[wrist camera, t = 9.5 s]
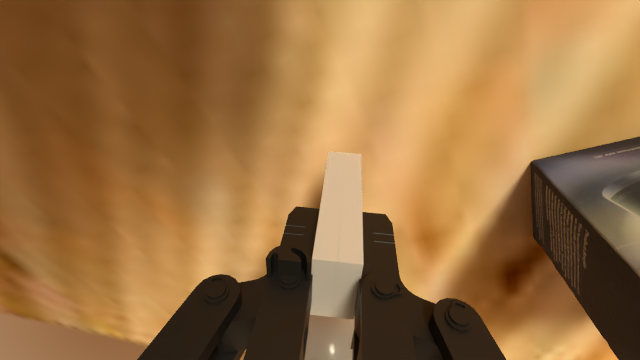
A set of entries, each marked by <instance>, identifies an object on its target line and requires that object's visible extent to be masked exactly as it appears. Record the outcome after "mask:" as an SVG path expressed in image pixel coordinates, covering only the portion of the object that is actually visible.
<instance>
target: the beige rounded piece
mask: <svg viewBox="0 0 640 360" xmlns="http://www.w3.org/2000/svg"><path fill="white" fill-rule="evenodd" d="M354 319H355V316H354ZM353 332H354V320H353V319H344V318H335V317H326V316H318V315H310V317H309V330H308V339H307V346H306V354H305V360H352V351H353V349H350V348H351V343H352V337H353Z"/></svg>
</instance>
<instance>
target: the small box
mask: <svg viewBox="0 0 640 360" xmlns="http://www.w3.org/2000/svg"><path fill="white" fill-rule="evenodd" d="M531 188H532V189H531V191H532V213H533V236H534V239H535V240H536V241H537V243H538V244H539V245H540V246H541V247H542V248H543V249H544V251H545V252H546V254H547V255H548V257H549V259H551V260H552V262H553V264H554V266H555V268H556V269H557V270H558V272H559V273H560V275H561V276H562V277H563V278H564V280H565V281H566V283H567V285H568V286H569V288H570V289H571V290H572V292H573V294H574V295H575V297H576V298H577V300H578V301H579V303H580V304H581V305H582V307H583V308H584V310H585V311H586V313H587V314H588V316H589V317H590V319H591V320H592V322H593V323H594V325H595V326H596V328H597V329H598V330H599V332H600V333H601V335H602V336H603V338H604V339H605V340H606V341H607V342H608V344H609V346H610V348H611V349H612V351H613V352H614V354H615V355H616V356H617V358H618V359H619V360H640V137H636V138H632V139H627V140H623V141H619V142H614V143H610V144H605V145H601V146H596V147H592V148H587V149H583V150H578V151H574V152H569V153H565V154H561V155H556V156H551V157H547V158H543V159H538V160H533V161H532V162H531Z"/></svg>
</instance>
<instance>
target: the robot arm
mask: <svg viewBox="0 0 640 360" xmlns="http://www.w3.org/2000/svg"><path fill="white" fill-rule="evenodd" d="M393 234H394V233H393V226H392V223H391V221H390V220H389V218H388V217H387V216H386V214H376V213H366V212H362V170H361V154H355V153H344V152H332V151H329V152H328V159H327V165H326V172H325V178H324V185H323V191H322V198H321V204H320V209H316V208H305V207H295V208H294V210H293V211H292V212H291V213H290V214H289V215H288V219H287V223H286V226H285V230H284V234H283V237H282V241H281V244H280V246H278V247H276V248H274V249H273V250H272V251H270V252H269V254H268V256H267V257H266V266H267V274H266V275H265V276H263V277H261V278H259V279H256V280H252V281H247V282H241V283H238V282H237V280H236V279H235V278H233V277H231V276H229V275H223V274H220V275H214V276H211V277H209V278H207V279H204V280H203V281H202V282H201V283H200V284H199V285H198V286H197V287H196V288H195V289H194V290H193V292H192V293H191V294H190V295H189V296H188V298H187V299H186V300H185V301H184V303H183V304H182V305H181V306H180V308H179V309H178V310H177V311H176V313H175V314H174V315H173V316H172V317H171V319H170V320H169V321H168V322H167V324H166V325H165V326H164V327H163V329H162V330H161V331H160V332H159V333H158V335H157V336H156V337H155V338H154V340H153V341H152V342H151V343H150V345H149V346H148V347H147V348H146V349H145V351H144V352H143V353H142V355H141V356H140V357H139V358H138V359H137V360H240V358H241V356H242V354H243V352H244V351H245V349H247V350H246V354H245V357H244V360H305V354H306V346H307V339H308V330H309V317H310V315H318V316H326V317H335V318H344V319H353V320H354V332H353V337H352V343H351V348H350V349H353V351H352V360H506V358H505V357H504V355H503V354H502V352H501V350H500V349H499V347H498V345H497V344H496V342H495V340H494V339H493V337H492V335H491V334H490V332H489V330H488V329H487V327H486V325H485V324H484V322H483V320H482V319H481V317H480V316H479V315H478V313H477V312H476V311H475V310H474V309H473V308H472V307H471V306H469V305H468V304H466V303H465V302H463V301H460V300H457V299H451V298H446V299H443V300H440V301H439V302H438V303H437V304H434V303H432V302H429V301H427V300H424V299H422V298H420V297H418V296H416V295H414V294H412V293H411V292H410V291H408V290H407V288H406V287H405V286H404V285H403V283H402V282H401V280H400V276H399V270H398V263H397V255H396V248H395V241H394V236H393ZM354 316H355V319H354Z"/></svg>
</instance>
